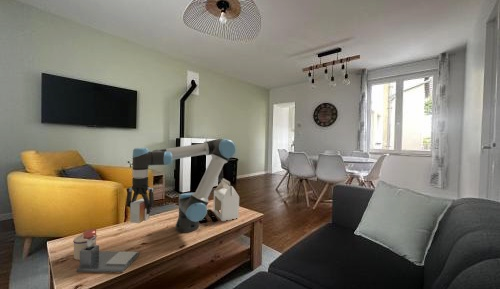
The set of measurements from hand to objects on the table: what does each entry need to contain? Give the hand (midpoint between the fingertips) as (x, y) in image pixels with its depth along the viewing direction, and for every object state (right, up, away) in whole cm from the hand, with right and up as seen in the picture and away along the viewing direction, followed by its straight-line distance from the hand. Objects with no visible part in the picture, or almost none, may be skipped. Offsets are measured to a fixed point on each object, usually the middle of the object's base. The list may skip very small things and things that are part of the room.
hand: (139, 219), depth 110 cm
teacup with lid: (-24, -15, -6) cm, 30 cm away
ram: (-15, -10, -16) cm, 24 cm away
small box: (0, -1, 0) cm, 1 cm away
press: (-7, -16, -13) cm, 22 cm away
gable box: (+40, -16, +52) cm, 67 cm away
